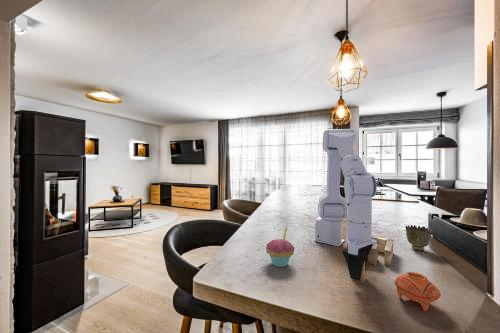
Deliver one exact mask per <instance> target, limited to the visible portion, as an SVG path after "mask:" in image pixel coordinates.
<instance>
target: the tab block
mask: <svg viewBox="0 0 500 333" xmlns="http://www.w3.org/2000/svg"><path fill="white" fill-rule="evenodd" d="M378 255H379V251H378V244H376V245H373V246H372V248H371V250H370V252H369V255H368V260H367V263H368V264H367V265H371V264H372V266H375V265H376V266H377V262H378V259H379V256H378ZM365 277H366V268H365V262H364V265H363V270H362V275H361V279H360V281H357V280H354V279H351V280H352V282H354V283H355V284H360V285H362V284H363V285H364V284H365V283H366V278H365Z"/></svg>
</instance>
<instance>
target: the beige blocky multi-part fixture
mask: <svg viewBox="0 0 500 333" xmlns="http://www.w3.org/2000/svg"><path fill="white" fill-rule="evenodd" d="M371 239H374V240H377V244H378V252H379V251H380V253H383V252H384V253H383V254H384V255H383V256H384V257H383V260H384V261H383V264H386V265H385V266H388V265H390V266H389V267H391V265H392V261H393V255H394V239H391V238H390V239H389V238H384V237H379V236H374V235H373V236H372V235H371ZM346 248H348V243H347V242H346Z"/></svg>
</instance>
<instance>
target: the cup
mask: <svg viewBox="0 0 500 333" xmlns="http://www.w3.org/2000/svg"><path fill="white" fill-rule="evenodd" d="M432 231H433V229H429V228H428V227H425V226H420V225H418V226H417V225H412V224H411V225H409V224H408V225H407V224H406V225H405V233H406V234H405V236H406V240H407V241H408V243H409V244H411V249H412V250H414V251H417V252H424V251H425V248H426V247H427V246H428V245H429V244H430V242H431V237H432Z"/></svg>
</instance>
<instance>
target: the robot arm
mask: <svg viewBox="0 0 500 333" xmlns="http://www.w3.org/2000/svg"><path fill="white" fill-rule="evenodd" d="M356 138H357V134H356V131H355V130H354V128H344V129H343V128H341V129H339V128H334V129H333V128H332V129H329V128H326V129H324V131H323V133H322V150H323V152H326V154H327V171H326V172H327V173H326V193H325V194H323V195H322V196H320V197H319V199H318V204H317V213H318V217H317V218H316V219H315V224H314V225H315V226H314V227H315V228H314V229H315V230H314V232H315V233H314V234H315V237H314V242H318V243H321V244H327V245H332V246H335V247H340V246H342V244H343V243H344V242H345V241H346V244H347V243H348V248H347V247H343V248H342V249H341V254H342V255H343V258H344V259H345V262H346V266H347V269H348V274H349V277H350V279H351V280H352V279H354V280H357V281H360V279H361V275H362V270H363V265H364V262H365V269H366V267H367V265H368V264H367V260H368V255H369V252H370V250H371V248H372V246H373V245H376V244H377V240H374V239H371V236H372V221H373V220H372V216H373V214H372V212H373V207H372V206H373V205H372V204H373V202H372V201H373V198H374V197H375V196H376V195H377V194H376V193H377V190H378V189H377V188H378V187H377V180H376V178H375V176H374V175H373V174H372V173H371V172H368V171H367V169H366V167H365V165H364V163H363V160H362V158H361V157H360V156H359V155H356V153H355V149H354V148H355V147H354V145H355V144H356V141H357V140H356ZM341 172H342V174H343V177H344V182H343V183H344V184H343V189H344V196H345V197H343V196H341V195H340V189H341V187H340V186H341ZM344 219H346V236H345V239H343V238H342V235H343V234H342V228H343V226H342V225H343V221H344Z"/></svg>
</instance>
